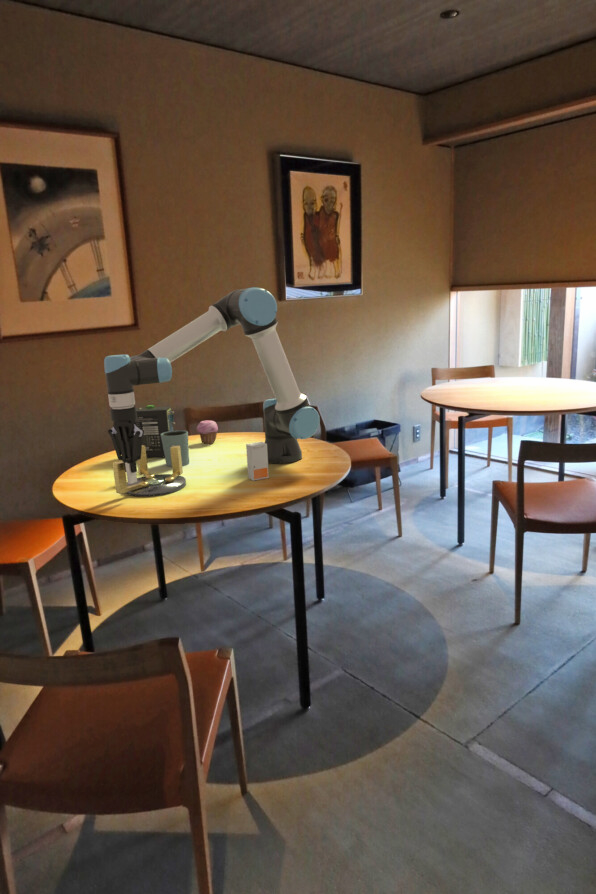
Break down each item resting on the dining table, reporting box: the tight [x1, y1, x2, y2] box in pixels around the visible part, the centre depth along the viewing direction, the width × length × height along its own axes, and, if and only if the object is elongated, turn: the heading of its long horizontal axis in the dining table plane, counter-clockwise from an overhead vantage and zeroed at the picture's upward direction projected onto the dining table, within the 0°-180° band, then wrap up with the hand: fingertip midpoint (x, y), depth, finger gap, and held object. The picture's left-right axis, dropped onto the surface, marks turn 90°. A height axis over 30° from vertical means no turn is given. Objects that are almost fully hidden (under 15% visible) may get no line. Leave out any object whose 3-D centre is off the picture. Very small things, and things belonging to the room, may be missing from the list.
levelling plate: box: [125, 473, 187, 498], centre depth 200 cm, size 20×20×2 cm
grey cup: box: [161, 429, 190, 468], centre depth 228 cm, size 10×10×12 cm
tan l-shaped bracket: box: [165, 446, 183, 482], centre depth 203 cm, size 11×3×10 cm, turn 172°
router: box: [136, 404, 176, 459], centre depth 241 cm, size 8×18×20 cm, turn 89°
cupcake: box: [196, 419, 219, 445], centre depth 260 cm, size 9×9×10 cm
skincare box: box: [245, 441, 270, 481], centre depth 204 cm, size 6×4×12 cm
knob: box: [136, 445, 155, 480], centre depth 207 cm, size 11×3×10 cm, turn 30°
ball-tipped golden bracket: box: [112, 460, 148, 495], centre depth 192 cm, size 11×3×10 cm, turn 137°
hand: (132, 482), depth 188 cm, fingers closed
